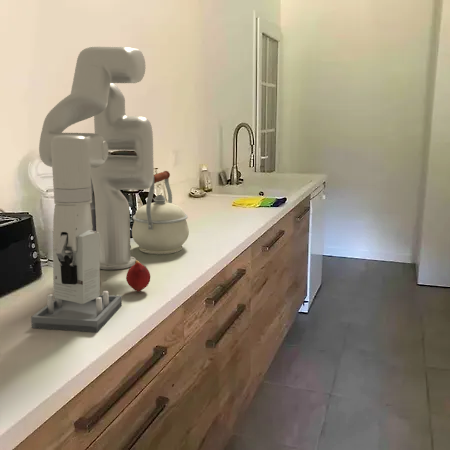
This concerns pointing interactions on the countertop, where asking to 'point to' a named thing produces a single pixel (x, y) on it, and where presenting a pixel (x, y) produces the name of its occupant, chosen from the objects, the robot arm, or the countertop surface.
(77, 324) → the pin tray
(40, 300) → the countertop surface
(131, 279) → the onion
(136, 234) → the kettle
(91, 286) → the skincare box
